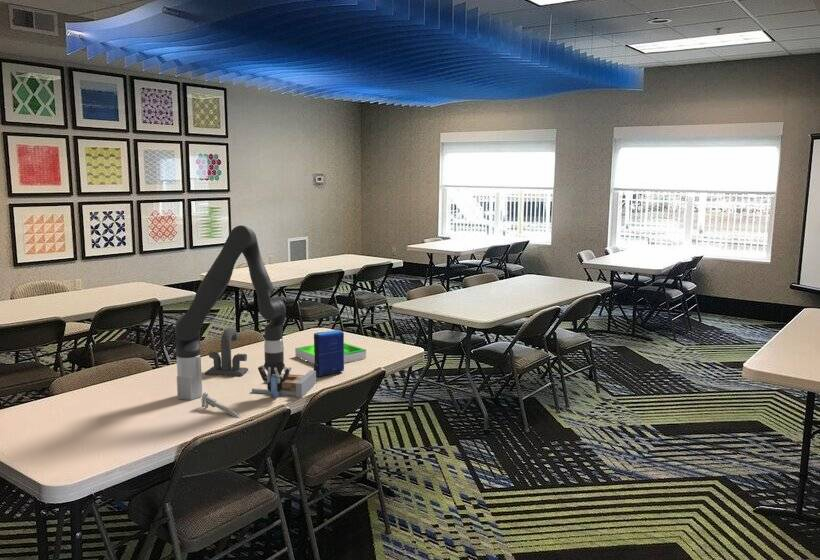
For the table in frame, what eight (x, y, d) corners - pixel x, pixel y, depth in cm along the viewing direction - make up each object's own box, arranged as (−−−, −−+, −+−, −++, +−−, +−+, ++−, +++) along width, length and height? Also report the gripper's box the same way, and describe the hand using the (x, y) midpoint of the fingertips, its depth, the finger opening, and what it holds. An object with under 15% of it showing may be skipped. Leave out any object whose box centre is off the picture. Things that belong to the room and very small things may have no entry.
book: (317, 378, 287) (316, 334, 284) (311, 375, 291) (311, 332, 288) (345, 372, 295) (344, 330, 292) (339, 369, 299) (339, 328, 296)
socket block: (298, 393, 265) (298, 383, 264) (273, 392, 267) (272, 381, 266) (307, 385, 276) (307, 375, 275) (282, 383, 278) (282, 373, 277)
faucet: (254, 366, 304) (253, 325, 301) (243, 376, 288) (241, 333, 285) (217, 365, 306) (216, 323, 303) (204, 375, 290) (202, 331, 287)
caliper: (201, 407, 250) (200, 392, 249) (203, 406, 251) (203, 391, 250) (238, 418, 239) (238, 402, 238) (240, 417, 240) (240, 401, 239)
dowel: (277, 398, 260) (276, 376, 259) (269, 397, 261) (269, 376, 259) (280, 395, 263) (279, 374, 262) (272, 395, 264) (272, 374, 262)
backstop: (301, 397, 261) (301, 383, 260) (249, 394, 265) (249, 380, 264) (316, 384, 279) (315, 370, 278) (266, 380, 282) (266, 367, 282)
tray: (295, 358, 320) (295, 348, 320) (336, 349, 337) (336, 340, 336) (324, 369, 302) (324, 358, 301) (366, 359, 319) (366, 349, 318)
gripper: (253, 351, 257) (254, 392, 259) (287, 353, 254) (288, 395, 257) (261, 346, 264) (262, 387, 267) (293, 348, 261) (294, 389, 264)
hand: (274, 390), depth 262 cm, fingers closed on dowel, 3 cm apart
